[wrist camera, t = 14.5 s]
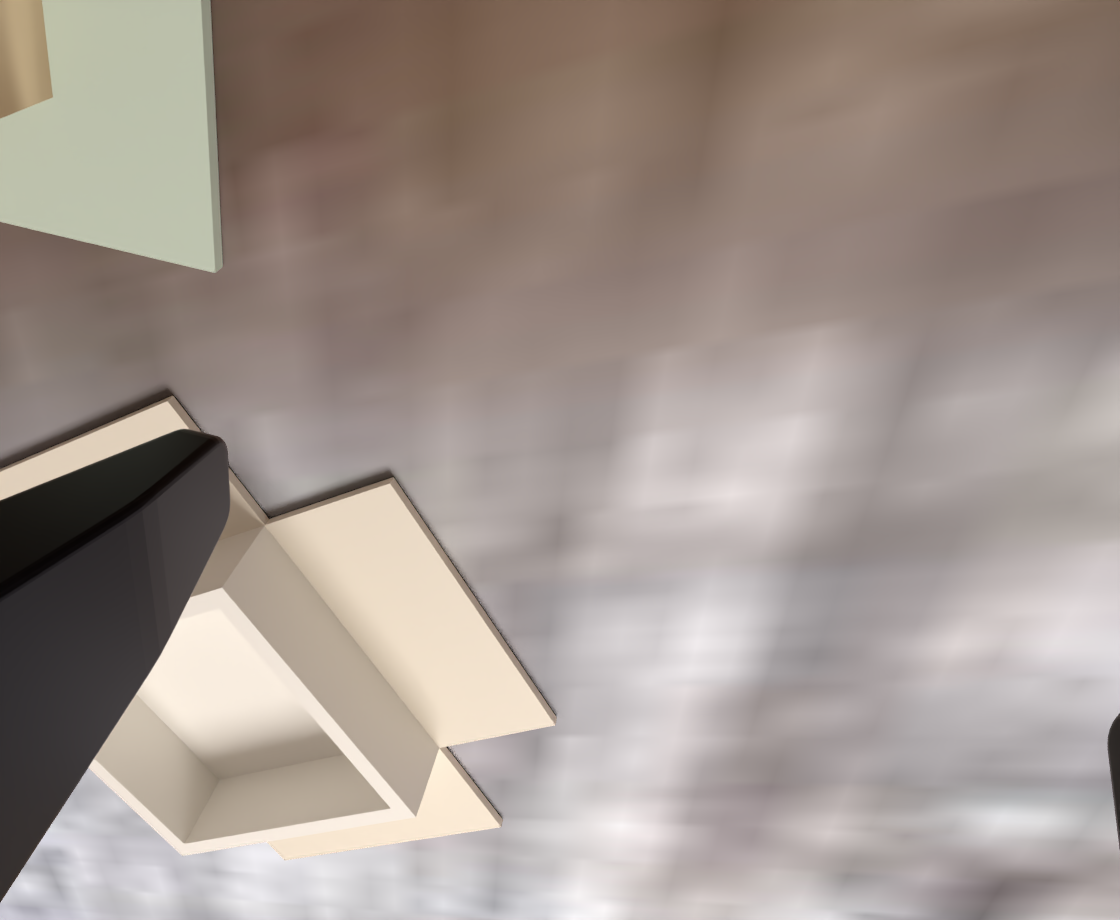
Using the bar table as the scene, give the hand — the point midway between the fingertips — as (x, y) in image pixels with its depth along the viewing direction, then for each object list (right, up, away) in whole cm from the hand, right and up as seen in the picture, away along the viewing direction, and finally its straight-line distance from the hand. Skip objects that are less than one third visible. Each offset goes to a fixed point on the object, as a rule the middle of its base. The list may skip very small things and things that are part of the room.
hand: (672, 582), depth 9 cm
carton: (-12, -6, +23) cm, 26 cm away
